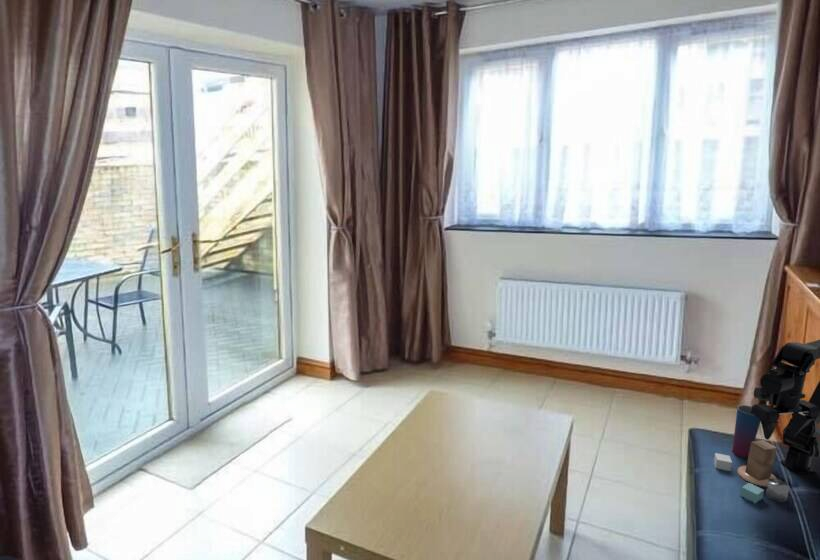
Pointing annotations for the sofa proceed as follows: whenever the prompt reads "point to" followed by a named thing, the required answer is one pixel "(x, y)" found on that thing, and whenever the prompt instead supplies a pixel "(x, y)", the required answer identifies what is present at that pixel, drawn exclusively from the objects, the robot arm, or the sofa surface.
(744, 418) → the cup
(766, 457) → the walnut block
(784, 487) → the metal bowl
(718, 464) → the grey block
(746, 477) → the coaster
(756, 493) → the teal block
